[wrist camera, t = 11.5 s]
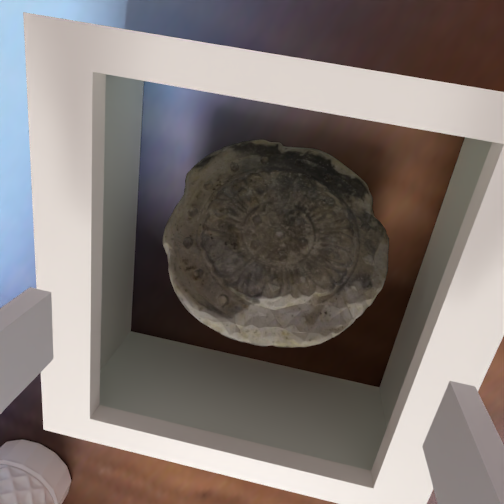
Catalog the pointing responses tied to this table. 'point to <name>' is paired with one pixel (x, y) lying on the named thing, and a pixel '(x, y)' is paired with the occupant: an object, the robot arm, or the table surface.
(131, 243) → the box
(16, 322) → the robot arm
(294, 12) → the table surface
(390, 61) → the table surface
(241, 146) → the fossil
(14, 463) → the white cup
